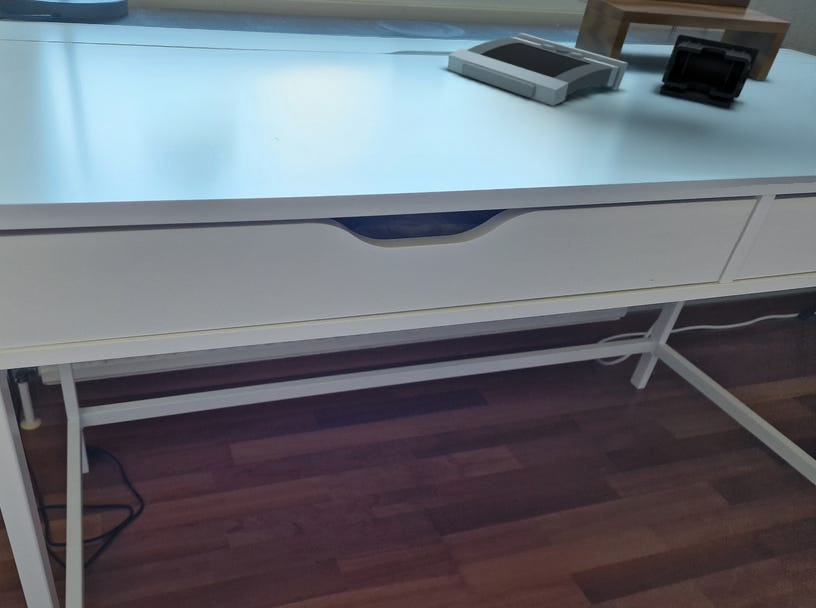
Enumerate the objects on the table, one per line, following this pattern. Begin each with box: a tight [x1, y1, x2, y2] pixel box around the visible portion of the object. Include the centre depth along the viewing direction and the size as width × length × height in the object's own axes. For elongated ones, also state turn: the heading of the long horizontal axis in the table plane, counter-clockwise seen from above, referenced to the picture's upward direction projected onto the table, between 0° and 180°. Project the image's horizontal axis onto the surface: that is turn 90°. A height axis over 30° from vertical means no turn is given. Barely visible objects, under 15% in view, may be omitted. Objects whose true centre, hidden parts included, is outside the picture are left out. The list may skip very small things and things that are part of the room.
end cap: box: [659, 34, 759, 109], centre depth 89 cm, size 10×7×7 cm
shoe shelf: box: [574, 0, 792, 81], centre depth 101 cm, size 12×26×10 cm, turn 96°
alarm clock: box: [447, 32, 629, 107], centre depth 89 cm, size 17×5×16 cm
